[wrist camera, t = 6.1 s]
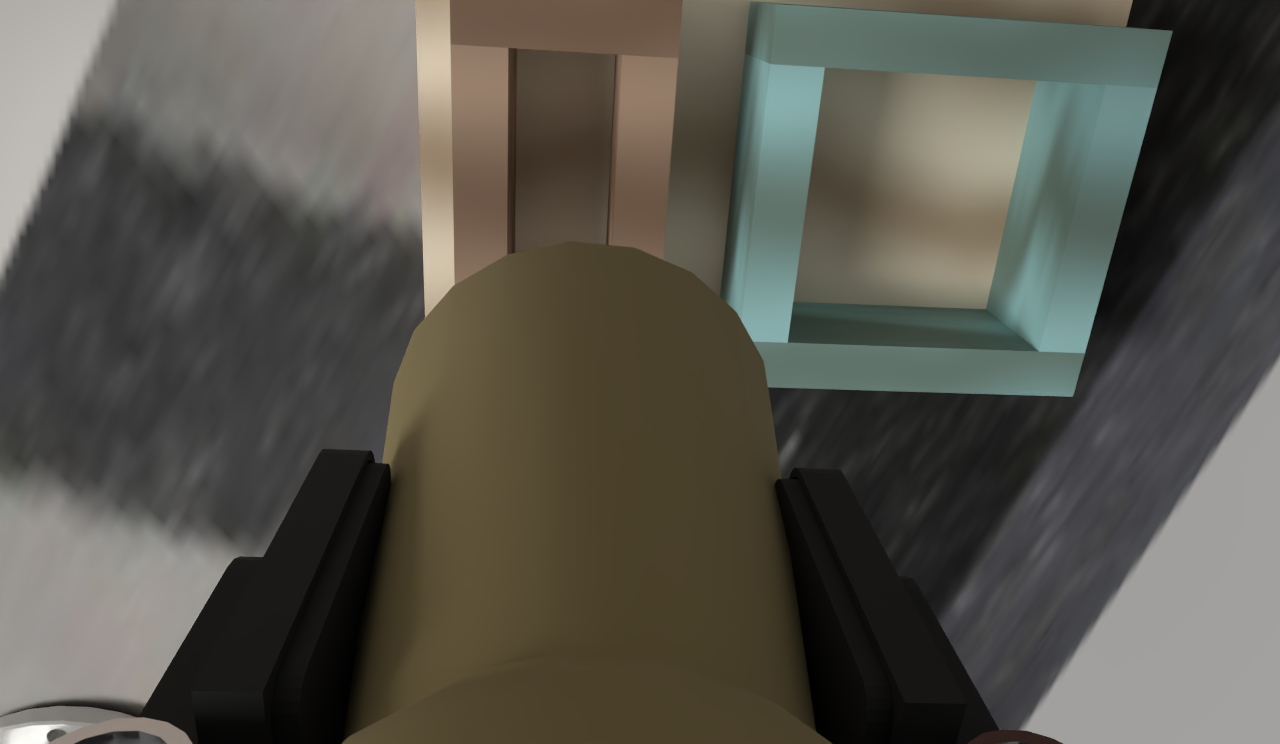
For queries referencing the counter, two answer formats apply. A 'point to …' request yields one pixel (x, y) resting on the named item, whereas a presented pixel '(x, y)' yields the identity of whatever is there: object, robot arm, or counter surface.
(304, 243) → the counter surface
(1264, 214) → the counter surface
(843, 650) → the robot arm
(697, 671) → the cork
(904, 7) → the socket board
